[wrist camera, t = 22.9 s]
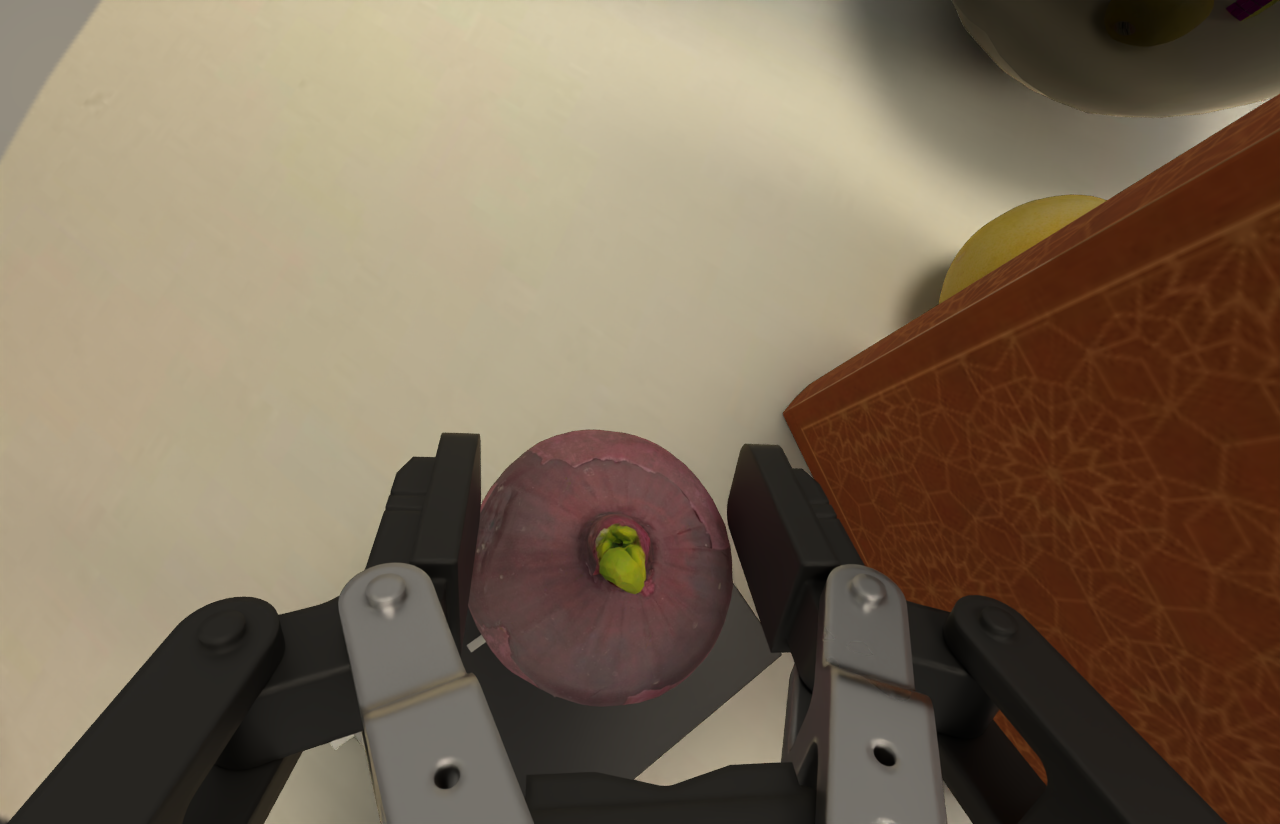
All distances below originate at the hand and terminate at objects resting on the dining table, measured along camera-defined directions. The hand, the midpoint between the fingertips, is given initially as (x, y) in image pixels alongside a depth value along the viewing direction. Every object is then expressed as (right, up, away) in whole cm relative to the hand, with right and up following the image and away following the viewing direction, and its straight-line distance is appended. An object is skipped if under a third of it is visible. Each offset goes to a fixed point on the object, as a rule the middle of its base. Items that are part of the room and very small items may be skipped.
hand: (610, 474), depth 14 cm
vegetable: (-1, -3, +5) cm, 6 cm away
